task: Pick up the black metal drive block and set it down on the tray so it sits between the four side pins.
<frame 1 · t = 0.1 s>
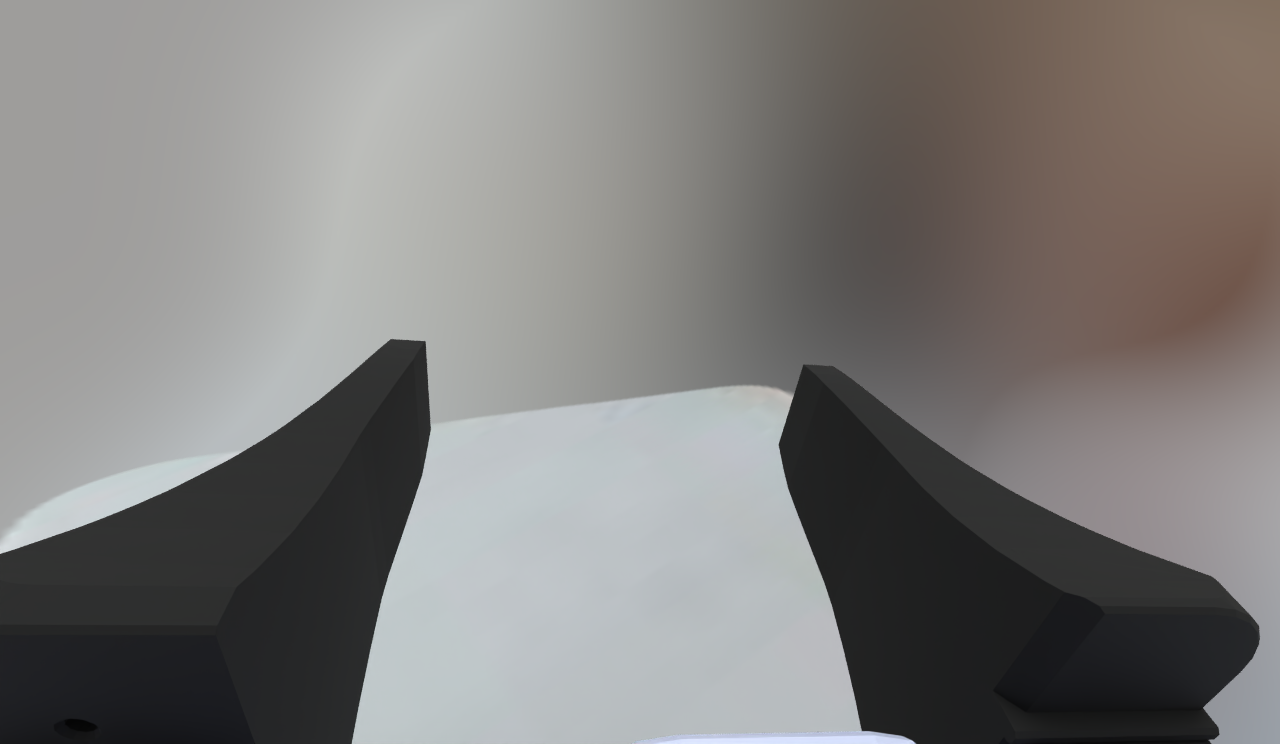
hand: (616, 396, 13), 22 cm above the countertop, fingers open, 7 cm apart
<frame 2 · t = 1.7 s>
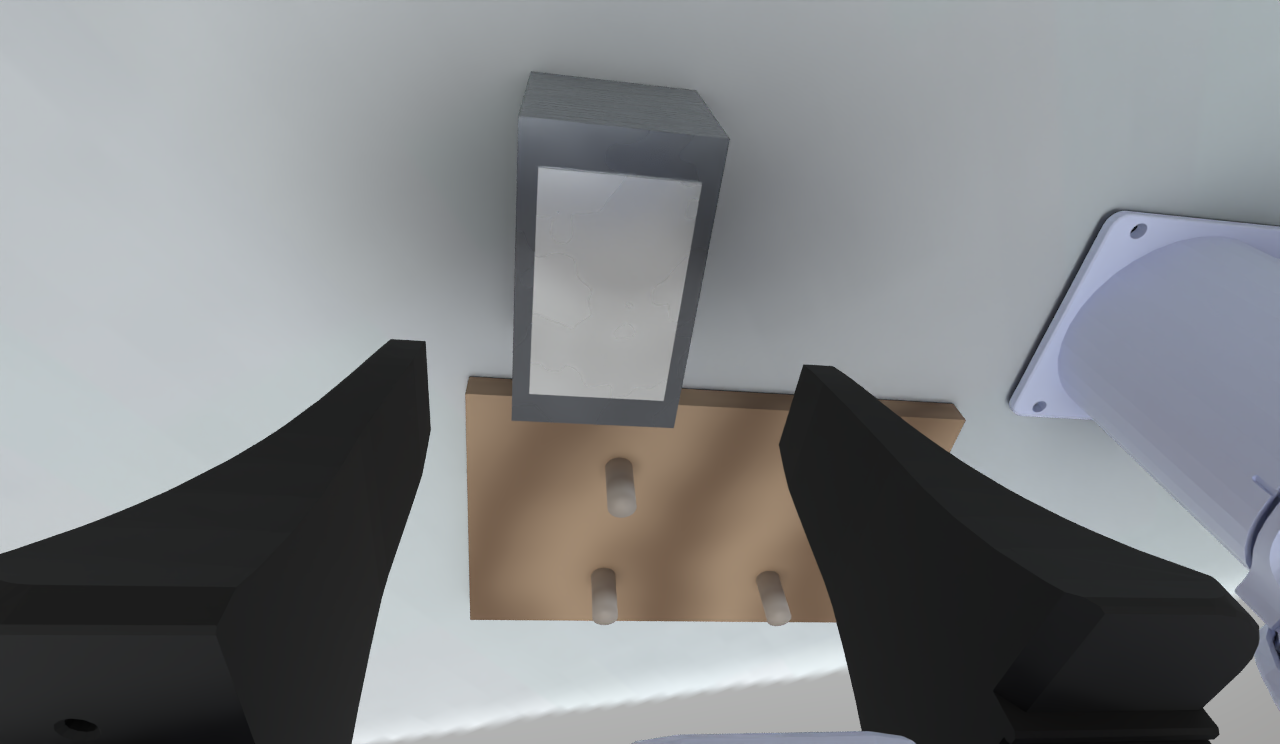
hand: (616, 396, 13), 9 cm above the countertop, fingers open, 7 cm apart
drive block: (601, 219, 21), on the countertop
pin tray: (695, 509, 28), on the countertop
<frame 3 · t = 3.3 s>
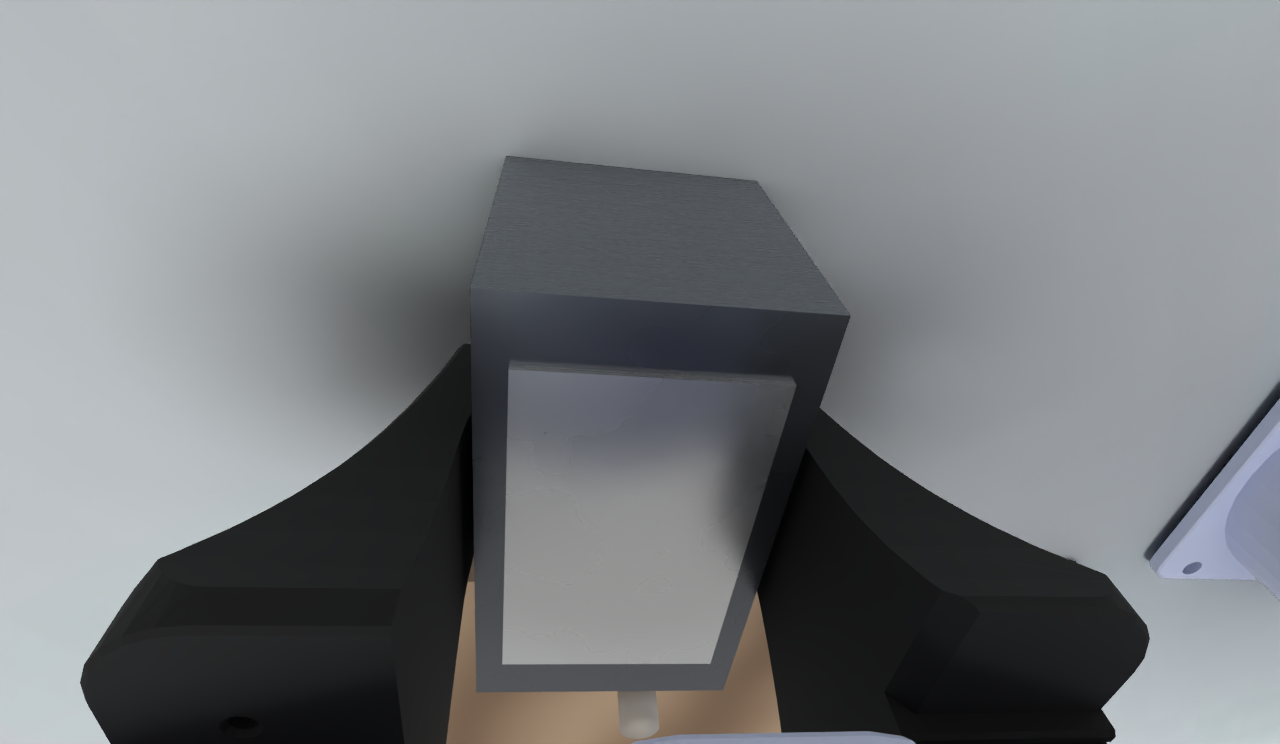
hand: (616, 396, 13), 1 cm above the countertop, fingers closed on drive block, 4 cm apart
drive block: (611, 357, 14), on the countertop, touching gripper
pin tray: (730, 683, 21), on the countertop
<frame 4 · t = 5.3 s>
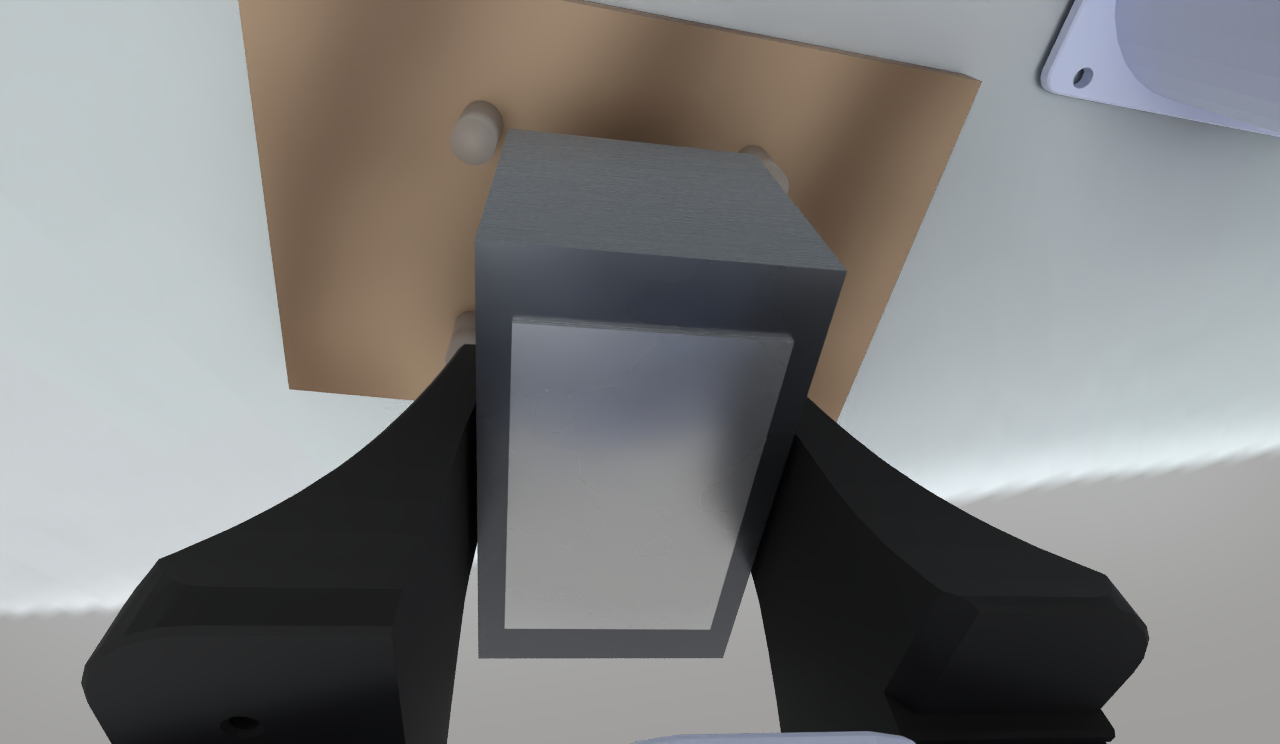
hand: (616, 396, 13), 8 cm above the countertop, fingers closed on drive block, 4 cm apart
drive block: (612, 332, 14), point 7 cm above the countertop, touching gripper
pin tray: (602, 235, 20), on the countertop
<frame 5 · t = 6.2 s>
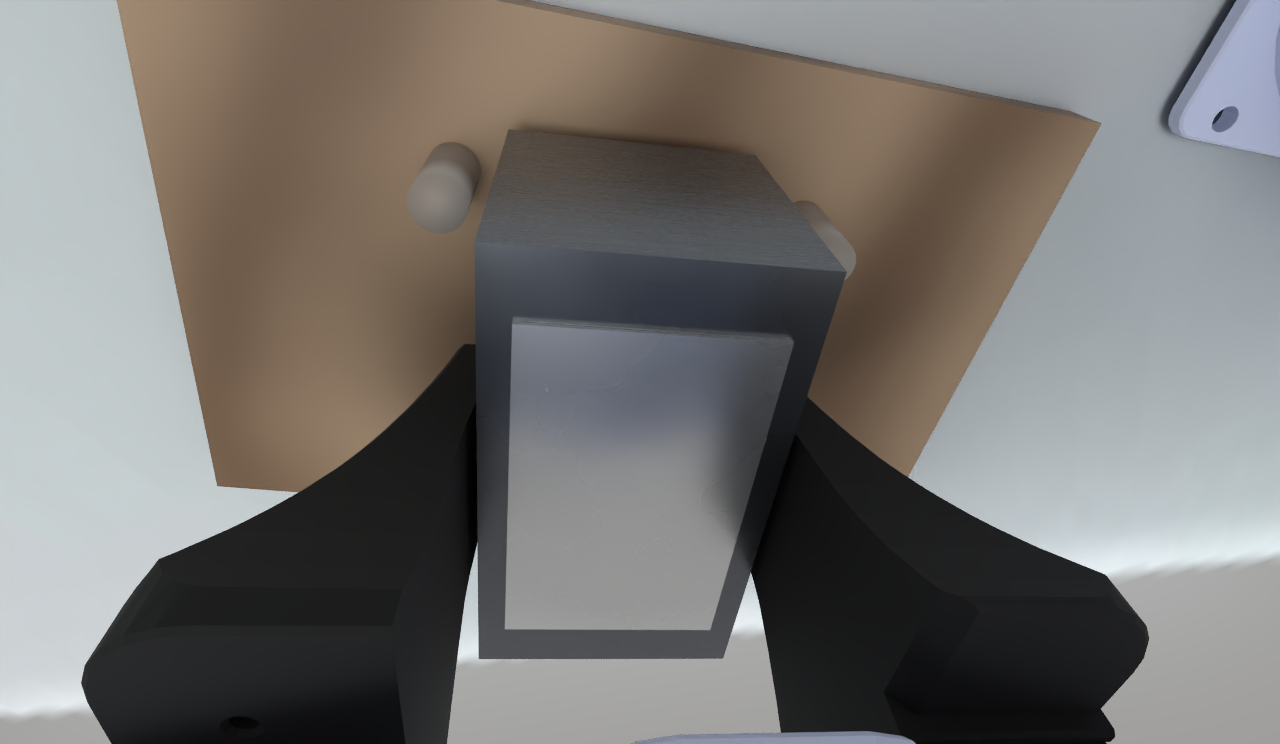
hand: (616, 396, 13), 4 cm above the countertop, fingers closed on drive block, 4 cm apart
drive block: (612, 333, 14), point 2 cm above the countertop, touching gripper
pin tray: (608, 303, 16), on the countertop
when the fingers open (3 cm above the countertop, at t = 7.1 s): drive block stays where it is, resting on pin tray.
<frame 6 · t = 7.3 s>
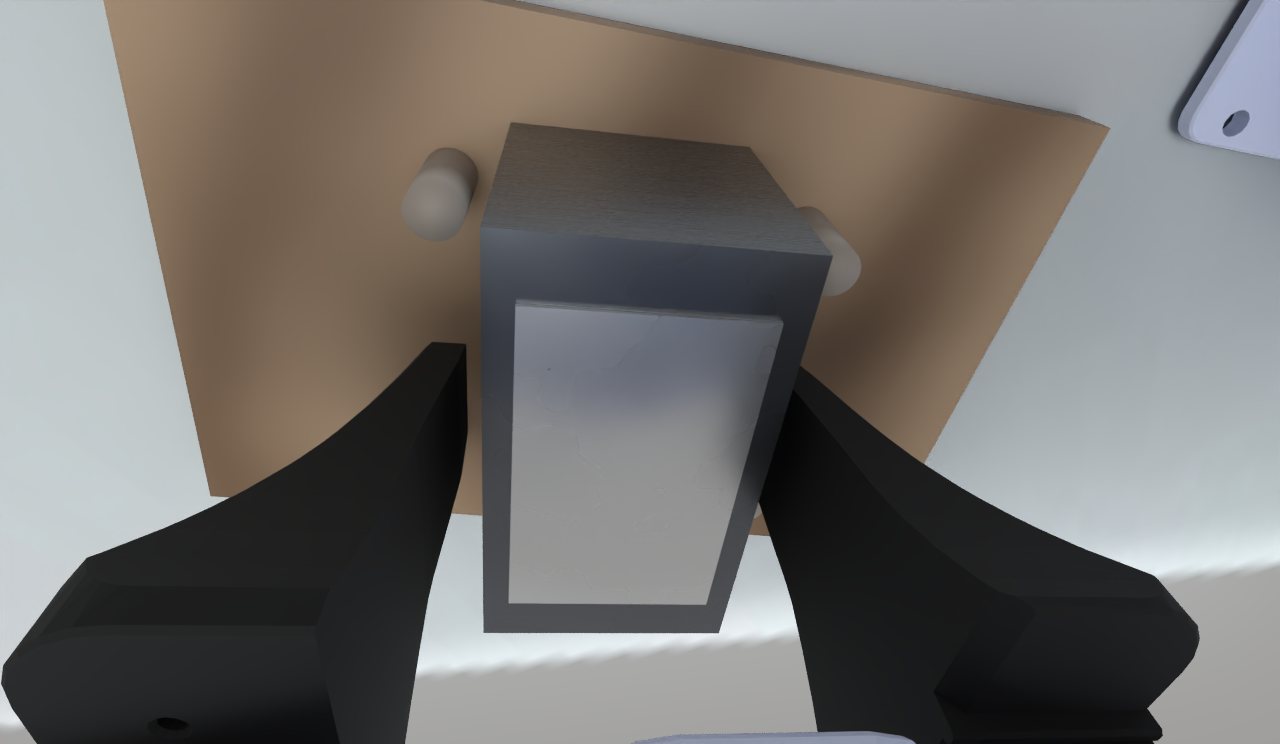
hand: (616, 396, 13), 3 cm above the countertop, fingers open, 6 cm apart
drive block: (611, 320, 15), point 1 cm above the countertop, touching pin tray
pin tray: (608, 310, 16), on the countertop
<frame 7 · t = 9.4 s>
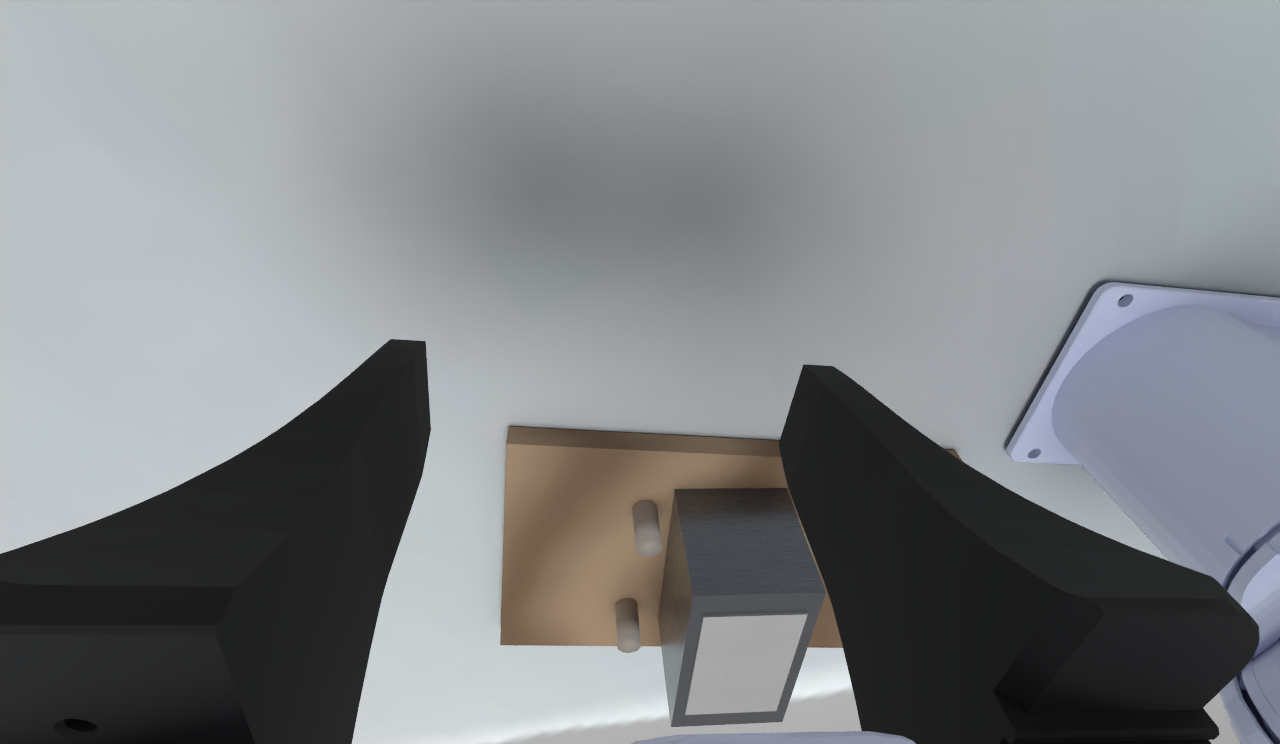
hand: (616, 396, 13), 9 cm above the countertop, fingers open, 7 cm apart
drive block: (717, 557, 29), point 1 cm above the countertop, touching pin tray
pin tray: (712, 543, 30), on the countertop
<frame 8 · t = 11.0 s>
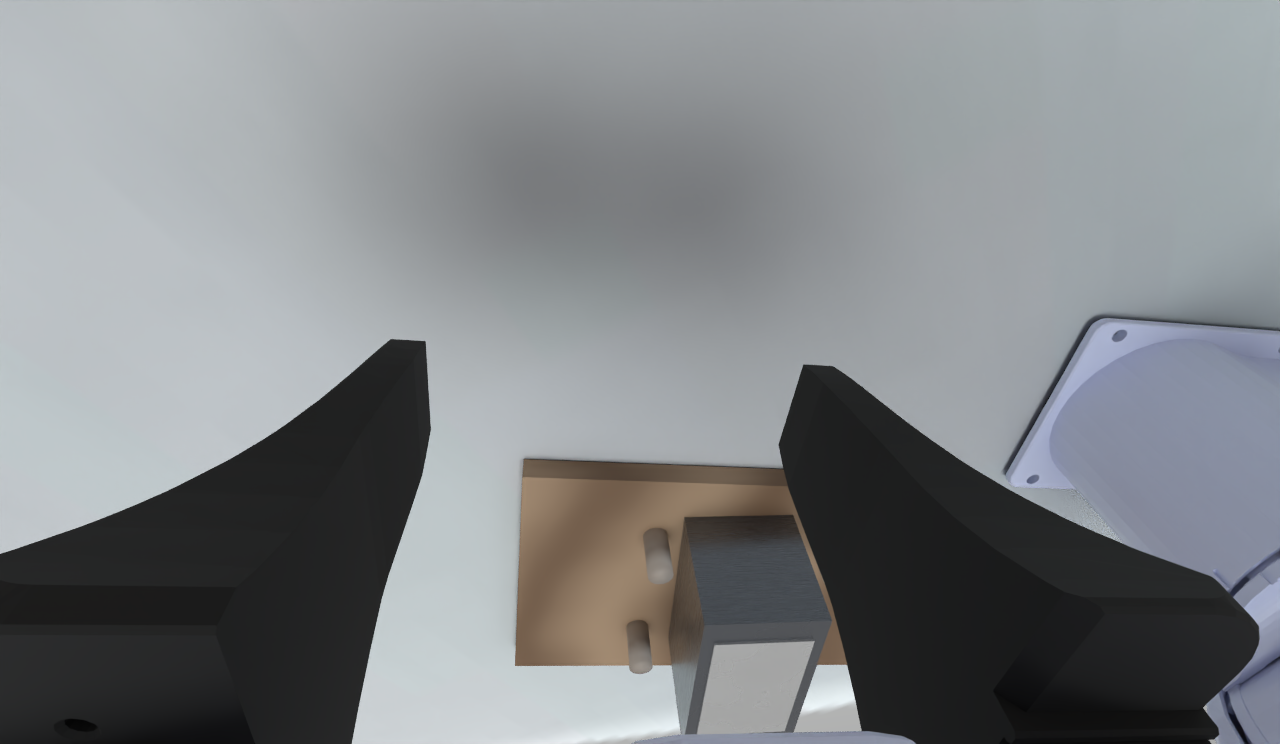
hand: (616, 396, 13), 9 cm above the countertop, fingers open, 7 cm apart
drive block: (726, 580, 29), point 1 cm above the countertop, touching pin tray
pin tray: (721, 567, 30), on the countertop
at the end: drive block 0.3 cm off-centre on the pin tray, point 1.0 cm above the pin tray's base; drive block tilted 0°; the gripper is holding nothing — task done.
